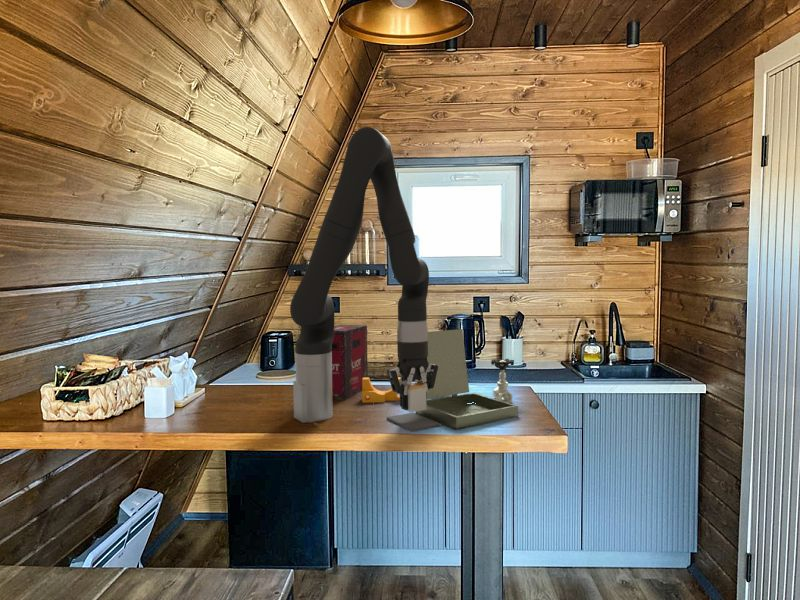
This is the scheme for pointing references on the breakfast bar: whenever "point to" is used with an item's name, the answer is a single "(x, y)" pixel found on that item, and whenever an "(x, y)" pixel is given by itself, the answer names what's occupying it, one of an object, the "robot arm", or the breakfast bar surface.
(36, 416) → the breakfast bar surface
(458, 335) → the lid
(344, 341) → the box
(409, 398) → the block
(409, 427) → the mat
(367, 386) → the pipe clamp
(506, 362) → the valve
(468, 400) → the case
